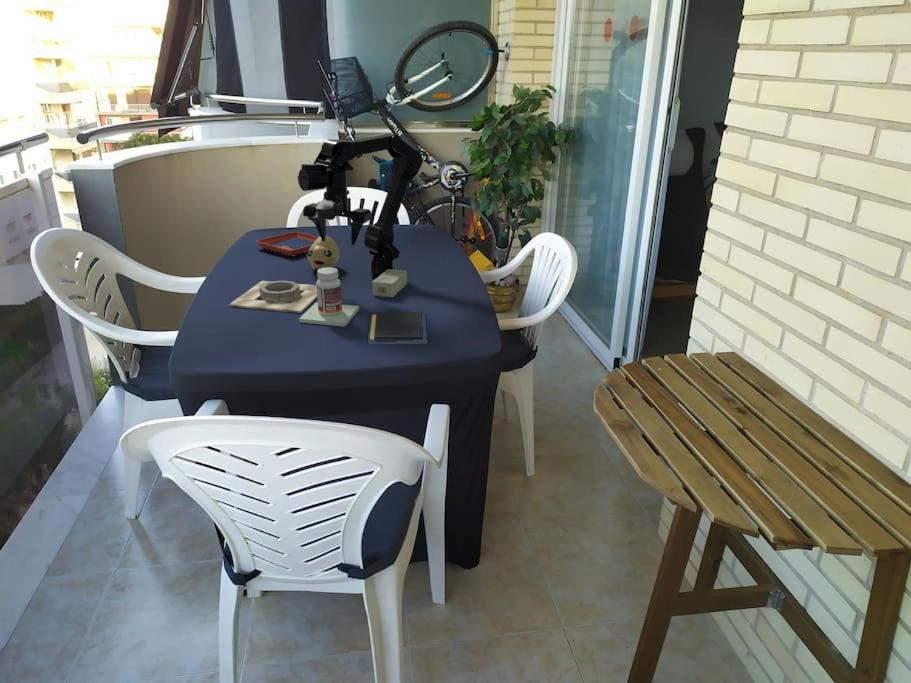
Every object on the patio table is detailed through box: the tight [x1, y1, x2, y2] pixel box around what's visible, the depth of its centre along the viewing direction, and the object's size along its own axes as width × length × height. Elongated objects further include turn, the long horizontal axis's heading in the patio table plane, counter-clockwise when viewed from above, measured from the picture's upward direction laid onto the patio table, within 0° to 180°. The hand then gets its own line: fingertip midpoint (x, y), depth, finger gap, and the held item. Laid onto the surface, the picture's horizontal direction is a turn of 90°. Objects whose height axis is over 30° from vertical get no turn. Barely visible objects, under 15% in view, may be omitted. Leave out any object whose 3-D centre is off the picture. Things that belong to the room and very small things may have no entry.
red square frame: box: [255, 231, 319, 257], centre depth 223 cm, size 18×18×3 cm
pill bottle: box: [315, 267, 343, 316], centre depth 166 cm, size 6×6×11 cm
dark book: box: [368, 311, 424, 343], centre depth 162 cm, size 20×2×15 cm
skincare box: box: [371, 269, 408, 298], centre depth 186 cm, size 6×4×12 cm
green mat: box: [298, 301, 360, 327], centre depth 168 cm, size 12×12×1 cm
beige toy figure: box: [306, 235, 340, 270], centre depth 200 cm, size 10×12×11 cm
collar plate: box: [228, 280, 317, 314], centre depth 179 cm, size 20×20×3 cm
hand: (338, 242), depth 184 cm, fingers open, 9 cm apart
